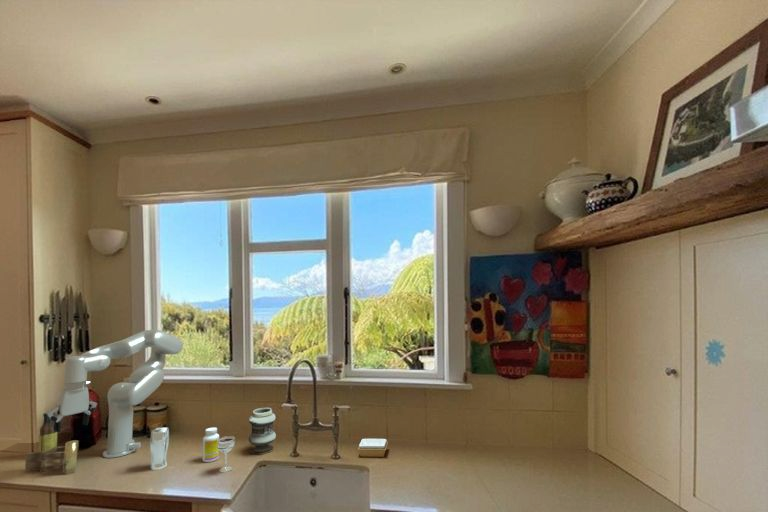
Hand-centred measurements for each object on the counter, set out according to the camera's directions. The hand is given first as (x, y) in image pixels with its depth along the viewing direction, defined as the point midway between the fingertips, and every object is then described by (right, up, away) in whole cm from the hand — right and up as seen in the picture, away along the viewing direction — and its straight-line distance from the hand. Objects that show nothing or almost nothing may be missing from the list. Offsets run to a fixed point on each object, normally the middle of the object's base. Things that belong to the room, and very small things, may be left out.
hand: (71, 428), depth 160 cm
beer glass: (+35, -17, +2) cm, 40 cm away
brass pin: (+1, -18, -2) cm, 18 cm away
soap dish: (+126, -17, +11) cm, 128 cm away
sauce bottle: (-24, -20, +15) cm, 34 cm away
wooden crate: (-13, -19, +7) cm, 24 cm away
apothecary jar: (+74, -18, +17) cm, 79 cm away
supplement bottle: (+55, -18, +8) cm, 58 cm away
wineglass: (+66, -16, -2) cm, 68 cm away
